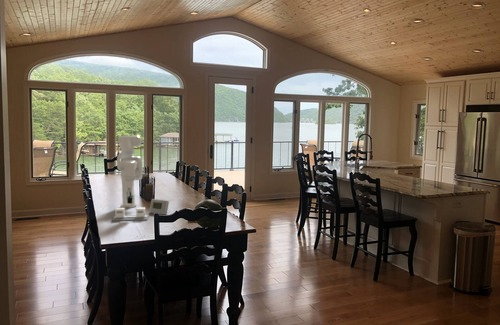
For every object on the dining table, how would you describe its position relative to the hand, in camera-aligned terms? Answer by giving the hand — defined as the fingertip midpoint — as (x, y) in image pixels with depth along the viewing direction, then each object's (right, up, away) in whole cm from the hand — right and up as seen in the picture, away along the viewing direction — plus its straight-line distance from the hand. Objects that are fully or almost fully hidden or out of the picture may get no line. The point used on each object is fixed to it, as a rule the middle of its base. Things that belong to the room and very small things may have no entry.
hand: (130, 202), depth 298 cm
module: (0, -2, 0) cm, 2 cm away
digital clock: (+17, -11, +19) cm, 28 cm away
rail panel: (0, -12, +2) cm, 13 cm away
